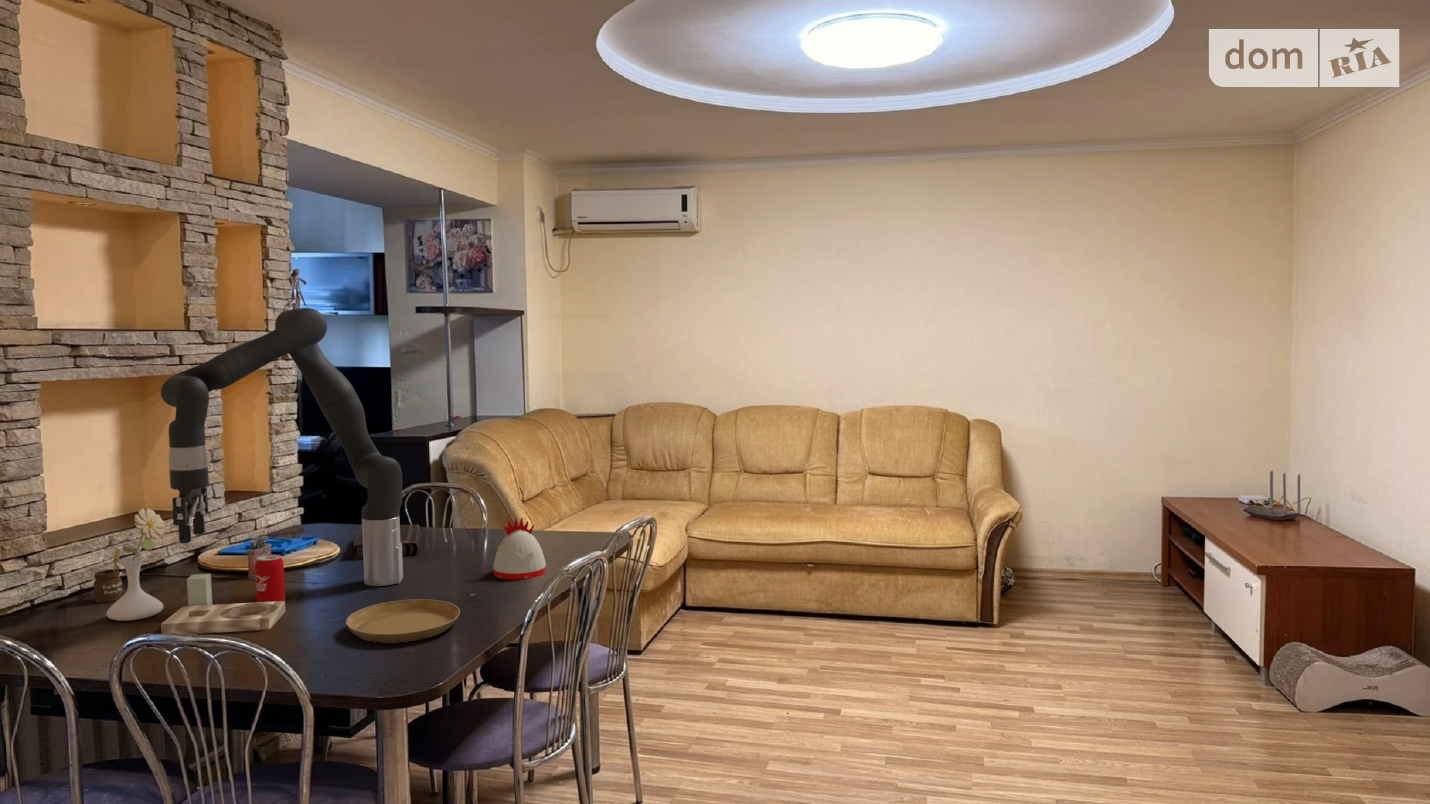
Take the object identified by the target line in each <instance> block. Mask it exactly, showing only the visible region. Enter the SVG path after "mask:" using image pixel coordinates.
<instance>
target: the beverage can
mask: <svg viewBox="0 0 1430 804" xmlns="http://www.w3.org/2000/svg"><path fill="white" fill-rule="evenodd" d="M255 577H256V578H255V591H256V592H255V594H256V602H275V601H285V602H286V590H285V589H286V588H285V565H284V560H283V559H282V556H281V554H276V553H275V554H273V553H271V554H270V555H263V556H260V557H258V558H257V561H256V563H255Z"/></svg>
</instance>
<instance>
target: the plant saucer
mask: <svg viewBox="0 0 1430 804" xmlns="http://www.w3.org/2000/svg"><path fill="white" fill-rule="evenodd" d="M460 613H461V610H460V608H459V607H458V606H457V605H456V604H454V603H452V602H450V601H448V602H447V601H445V600H437V599H425V598H424V599H422V598H421V599H418V598H415V599H413V598H412V599H402V600H401V599H400V600H392V601H386V602H381V603H377V604H373V605H369V606H366V607H364V608H361V609H358V610H356V611H354V612H353V613H351V614H349V616H348V617H347V618H346V620H345V623H346V626H347V628H348V629H349V631H350V632H351V633H352V634H353V635H355V636H356V637H358V638H360V639H361V638H362V640H364V641H367V642H370V641H373V642H372V643H376V642H380V643H379V644H400V643H399V642H404V643H409V642H408V641H412V642H417V640H418V641H422V640H421V639H423V640H425V638H427V639H429V638H428V637H430V638H433V637H435V635H436V636H438V635H441V634H443V633H444V632H446V631H447V630H449V629H450V628H451V627H453V625H454V624H455V622H456V621H457V620H458V618H459V616H460ZM442 632H443V633H442ZM440 633H441V634H440ZM437 634H438V635H437ZM432 636H433V637H432Z"/></svg>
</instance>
